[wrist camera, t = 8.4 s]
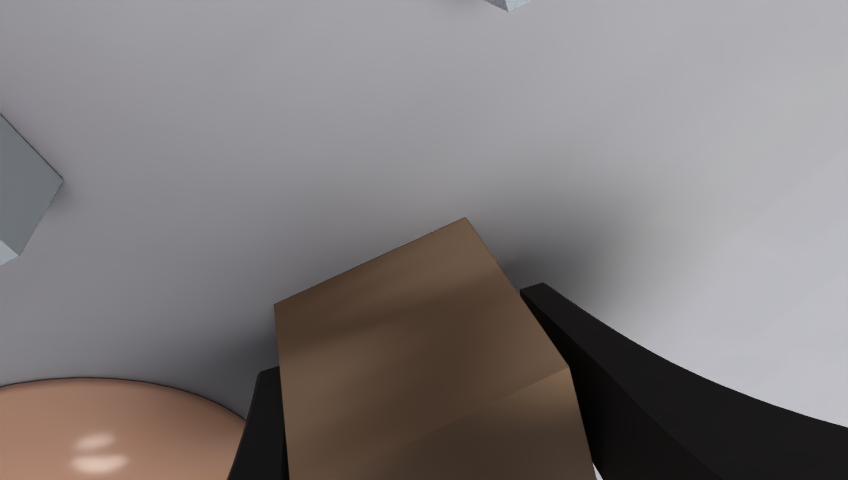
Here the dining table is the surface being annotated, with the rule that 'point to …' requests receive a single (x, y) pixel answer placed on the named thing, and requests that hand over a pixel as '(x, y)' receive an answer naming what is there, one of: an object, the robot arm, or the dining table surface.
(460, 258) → the walnut block
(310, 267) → the dining table surface
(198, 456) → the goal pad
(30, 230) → the grey parallel rails
